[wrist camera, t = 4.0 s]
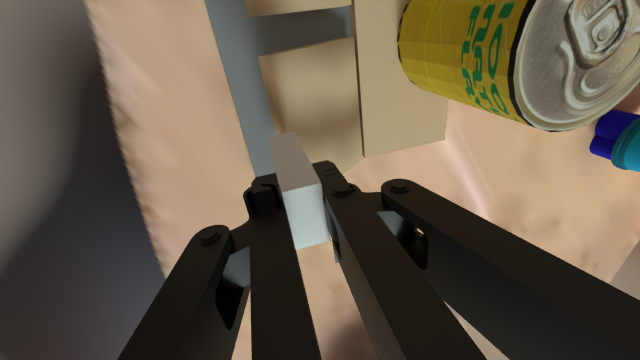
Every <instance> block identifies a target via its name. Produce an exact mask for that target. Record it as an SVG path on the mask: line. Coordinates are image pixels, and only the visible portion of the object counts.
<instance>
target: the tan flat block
mask: <svg viewBox="0 0 640 360" xmlns="http://www.w3.org/2000/svg"><path fill="white" fill-rule="evenodd" d="M245 3H246V7H247V11H248V16H249V17H257V16H266V15H274V14H283V13H292V12H301V11H309V10H318V9H327V8H336V7H342V6H347V5H352V4H351V0H245Z"/></svg>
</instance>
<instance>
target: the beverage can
mask: <svg viewBox="0 0 640 360" xmlns="http://www.w3.org/2000/svg"><path fill="white" fill-rule="evenodd" d="M397 47H398V58H399V60H400V63H401V66H402V69H403V71H404V73H405V74H406V76H407V77H408V79H409V80H410V81H411V82H412V83H413V84H415V85H416V86H417V87H419V88H420V89H423V90H426V91H428V92H431V93H434V94H437V95H440V96H443V97H446V98H449V99H452V100H455V101H458V102H461V103H464V104H467V105H470V106H473V107H476V108H479V109H482V110H485V111H488V112H491V113H494V114H497V115H500V116H503V117H506V118H509V119H512V120H515V121H518V122H521V123H524V124H526V125H529V126H532V127H535V128H539V129H542V130H545V131H548V132H561V131H569V130H572V129H575V128H578V127H581V126H584V125H587V124H589V123H590V122H592V121H594V120H595V119H597V118H599V117H600V116H602V115H604V114H606V113H607V112H608V111H609V110H611V109H612V108H613V107H614V106H616V105H617V104H618V103H619V102H620V101H622V100H623V99H624V98H625V97H626V96H627V95H628V94H629V93H630V92H631V91H632V90H633V89H634V88H635V87H636V86H637V85H638V84H639V82H640V0H409V1H408V2H407V4H406V6H405V8H404V11H403V14H402V17H401V20H400V23H399V29H398V37H397Z"/></svg>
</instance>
